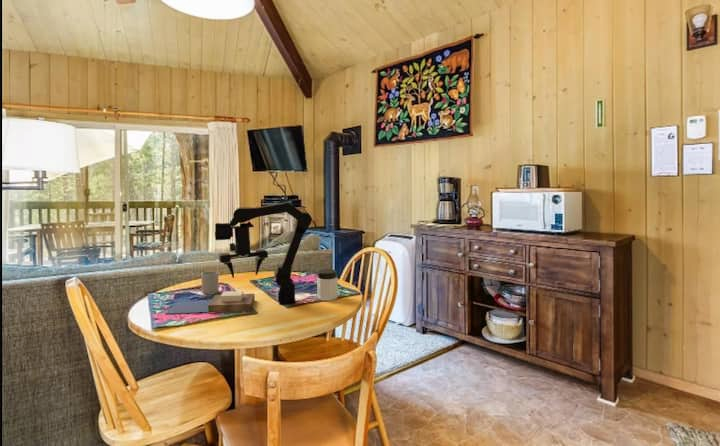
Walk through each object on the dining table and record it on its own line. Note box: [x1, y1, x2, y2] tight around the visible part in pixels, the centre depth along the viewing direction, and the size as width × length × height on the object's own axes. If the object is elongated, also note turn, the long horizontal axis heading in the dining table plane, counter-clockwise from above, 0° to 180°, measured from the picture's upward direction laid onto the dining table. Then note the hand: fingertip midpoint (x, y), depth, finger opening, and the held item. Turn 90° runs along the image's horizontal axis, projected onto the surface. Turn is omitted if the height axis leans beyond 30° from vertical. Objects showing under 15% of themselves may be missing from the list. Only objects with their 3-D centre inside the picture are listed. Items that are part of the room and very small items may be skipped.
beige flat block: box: [220, 290, 244, 302], centre depth 173 cm, size 8×6×2 cm
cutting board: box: [208, 293, 256, 313], centre depth 173 cm, size 16×14×3 cm
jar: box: [316, 268, 338, 302], centre depth 184 cm, size 9×8×12 cm
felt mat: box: [165, 300, 212, 315], centre depth 171 cm, size 16×14×1 cm
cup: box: [200, 270, 220, 295], centre depth 193 cm, size 7×10×9 cm
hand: (244, 276), depth 173 cm, fingers open, 9 cm apart
